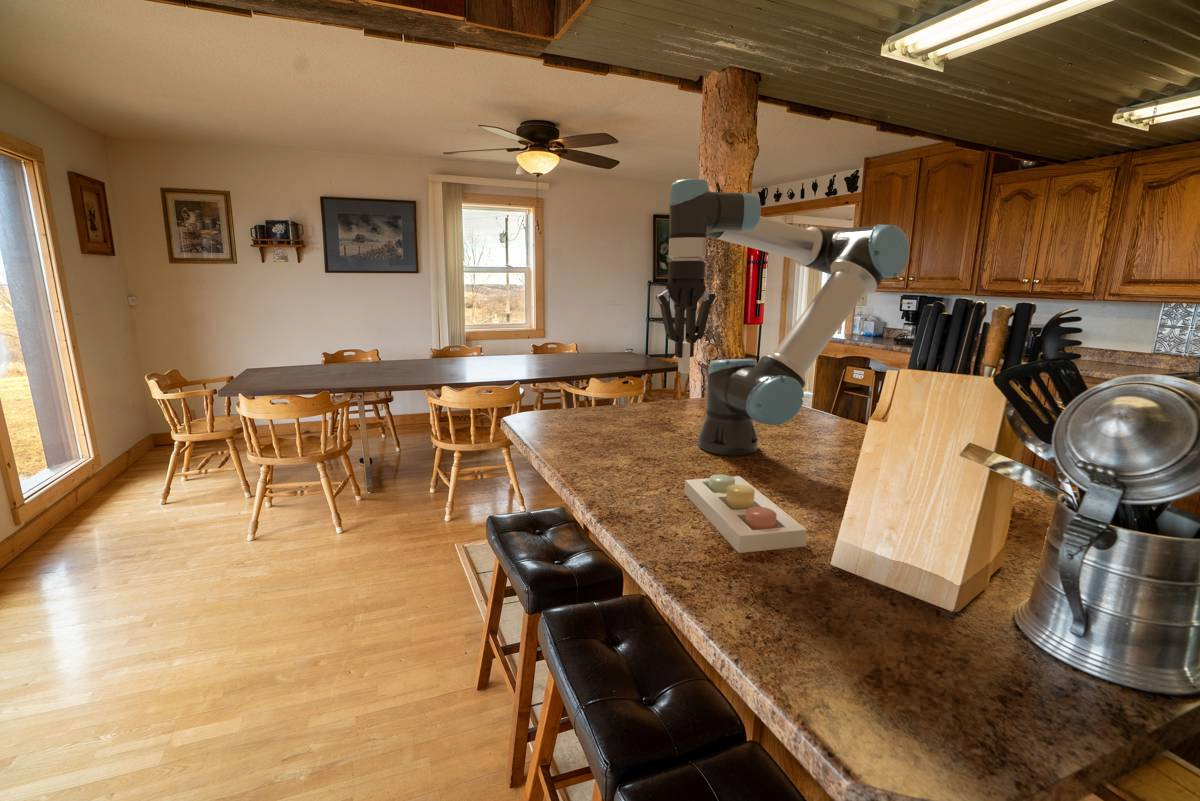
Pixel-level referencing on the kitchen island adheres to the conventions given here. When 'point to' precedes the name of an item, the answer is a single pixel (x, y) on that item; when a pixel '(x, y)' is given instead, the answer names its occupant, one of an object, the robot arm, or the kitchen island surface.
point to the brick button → (760, 518)
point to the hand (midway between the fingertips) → (683, 372)
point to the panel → (733, 520)
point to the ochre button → (739, 497)
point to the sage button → (720, 483)
